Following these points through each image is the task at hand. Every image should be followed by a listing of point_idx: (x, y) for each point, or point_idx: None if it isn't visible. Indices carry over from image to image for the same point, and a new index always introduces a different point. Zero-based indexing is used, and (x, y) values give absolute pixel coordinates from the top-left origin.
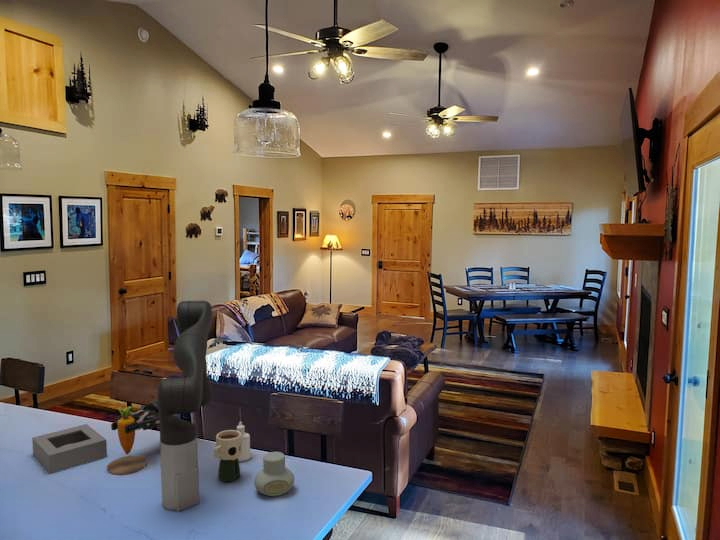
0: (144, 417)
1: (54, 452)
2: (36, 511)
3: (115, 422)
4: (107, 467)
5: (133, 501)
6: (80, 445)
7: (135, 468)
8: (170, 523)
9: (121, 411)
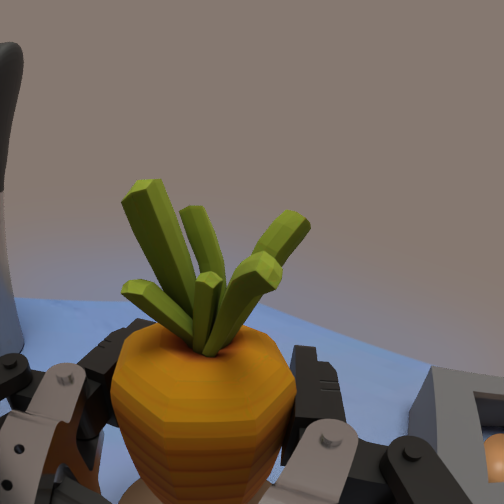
0: (8, 431)
1: (444, 378)
2: (262, 329)
3: (298, 357)
4: (271, 484)
5: (80, 355)
6: (449, 435)
7: (138, 491)
8: (16, 309)
9: (253, 251)
